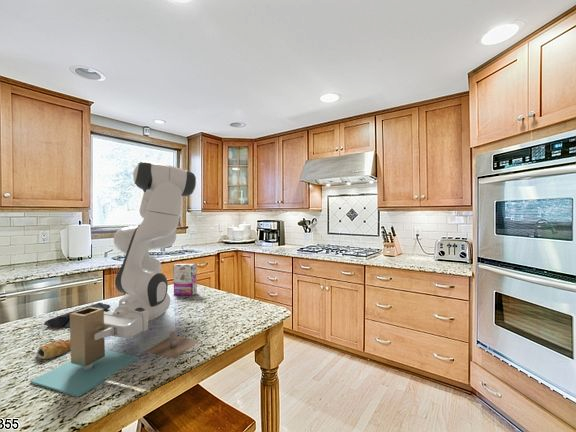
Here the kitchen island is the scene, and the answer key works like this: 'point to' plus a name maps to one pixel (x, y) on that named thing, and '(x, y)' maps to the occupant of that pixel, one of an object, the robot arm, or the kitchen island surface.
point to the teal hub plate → (83, 374)
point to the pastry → (54, 349)
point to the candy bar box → (185, 279)
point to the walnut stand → (172, 346)
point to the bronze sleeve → (86, 336)
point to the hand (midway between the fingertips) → (84, 335)
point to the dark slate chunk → (64, 319)
